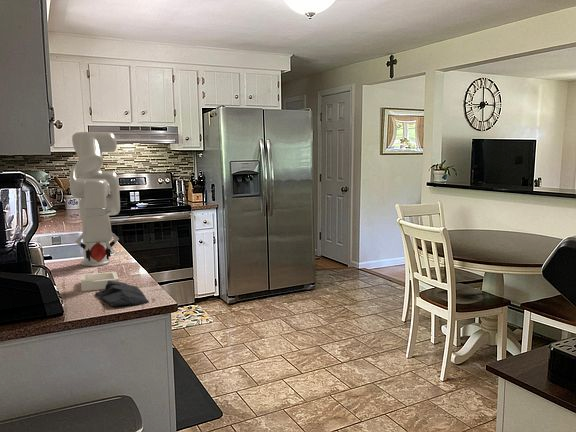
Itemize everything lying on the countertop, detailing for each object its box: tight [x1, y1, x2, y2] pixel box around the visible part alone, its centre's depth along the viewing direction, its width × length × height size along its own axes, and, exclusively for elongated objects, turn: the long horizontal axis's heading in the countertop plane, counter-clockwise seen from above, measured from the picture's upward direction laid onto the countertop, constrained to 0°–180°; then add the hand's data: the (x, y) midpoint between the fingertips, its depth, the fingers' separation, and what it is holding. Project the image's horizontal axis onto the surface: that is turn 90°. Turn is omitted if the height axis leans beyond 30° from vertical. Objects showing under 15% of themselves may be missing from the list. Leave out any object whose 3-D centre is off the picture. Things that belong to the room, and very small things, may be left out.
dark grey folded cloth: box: [95, 281, 150, 307], centre depth 162 cm, size 15×22×5 cm
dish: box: [80, 270, 120, 292], centre depth 179 cm, size 13×13×3 cm
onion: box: [90, 243, 106, 262], centre depth 177 cm, size 6×6×8 cm
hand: (98, 259), depth 177 cm, fingers closed on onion, 5 cm apart
